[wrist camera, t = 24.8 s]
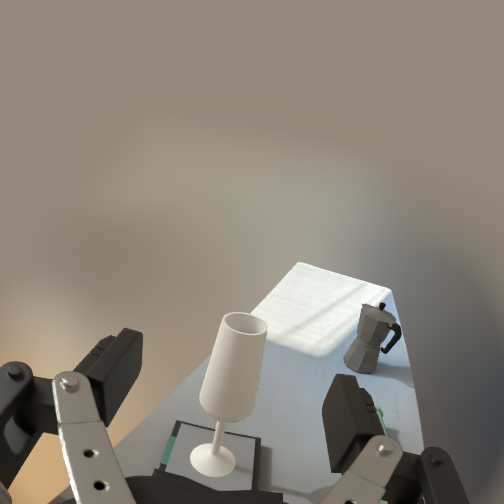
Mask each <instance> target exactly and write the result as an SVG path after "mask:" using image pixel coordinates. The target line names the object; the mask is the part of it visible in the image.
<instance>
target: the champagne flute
mask: <svg viewBox="0 0 504 504" xmlns="http://www.w3.org/2000/svg"><path fill="white" fill-rule="evenodd" d="M266 335H267V324H266V323H265V322H264V321H263V320H262V319H260V318H259V317H257V316H254V315H251V314H248V313H242V312H233V313H228V314H226V315H225V316H224V317H223V319H222V322H221V326H220V329H219V332H218V335H217V339H216V342H215V345H214V348H213V352H212V355H211V358H210V362H209V365H208V368H207V372H206V375H205V378H204V382H203V385H202V388H201V392H200V403H201V405H202V407H203V409H204V411H205V412H206V413H207V414H208V415H209V416H210V417H211V418H213V419H214V420H216V421H218V422H217V426H216V430H215V435H214V439H213V444H211V443H210V444H202V445H199V446H197V447H196V448H195V449H194V450H193V451H192V452H191V455H190V461H191V464H192V466H193V467H194V468H195V469H196V470H197V471H198V472H200V473H201V474H203V475H206V476H210V477H222V476H226V475H228V474H229V473H231V472H232V471H233V470H234V468H235V465H236V460H235V457H234V455H233V454H232V453H231V452H230V451H229V450H228V449H227V448H225V447H223V446H221V443H222V439H223V435H224V431H225V427H226V423H235V422H238V421H241V420H243V419H244V418H246V417H247V416H249V415H250V414H251V413H252V411H253V409H254V407H255V402H256V396H257V390H258V384H259V378H260V372H261V366H262V360H263V353H264V347H265V341H266Z"/></svg>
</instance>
